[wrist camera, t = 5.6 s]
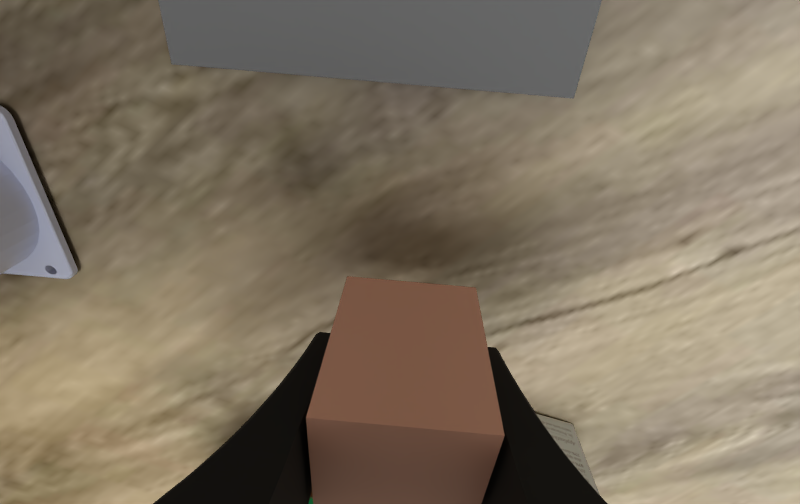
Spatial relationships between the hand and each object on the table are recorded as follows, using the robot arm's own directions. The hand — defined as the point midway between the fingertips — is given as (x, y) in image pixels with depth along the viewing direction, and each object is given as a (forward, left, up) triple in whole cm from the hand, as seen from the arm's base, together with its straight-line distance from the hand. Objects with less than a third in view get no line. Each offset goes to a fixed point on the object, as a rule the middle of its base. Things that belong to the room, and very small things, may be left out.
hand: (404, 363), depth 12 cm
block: (0, 0, -2) cm, 2 cm away
